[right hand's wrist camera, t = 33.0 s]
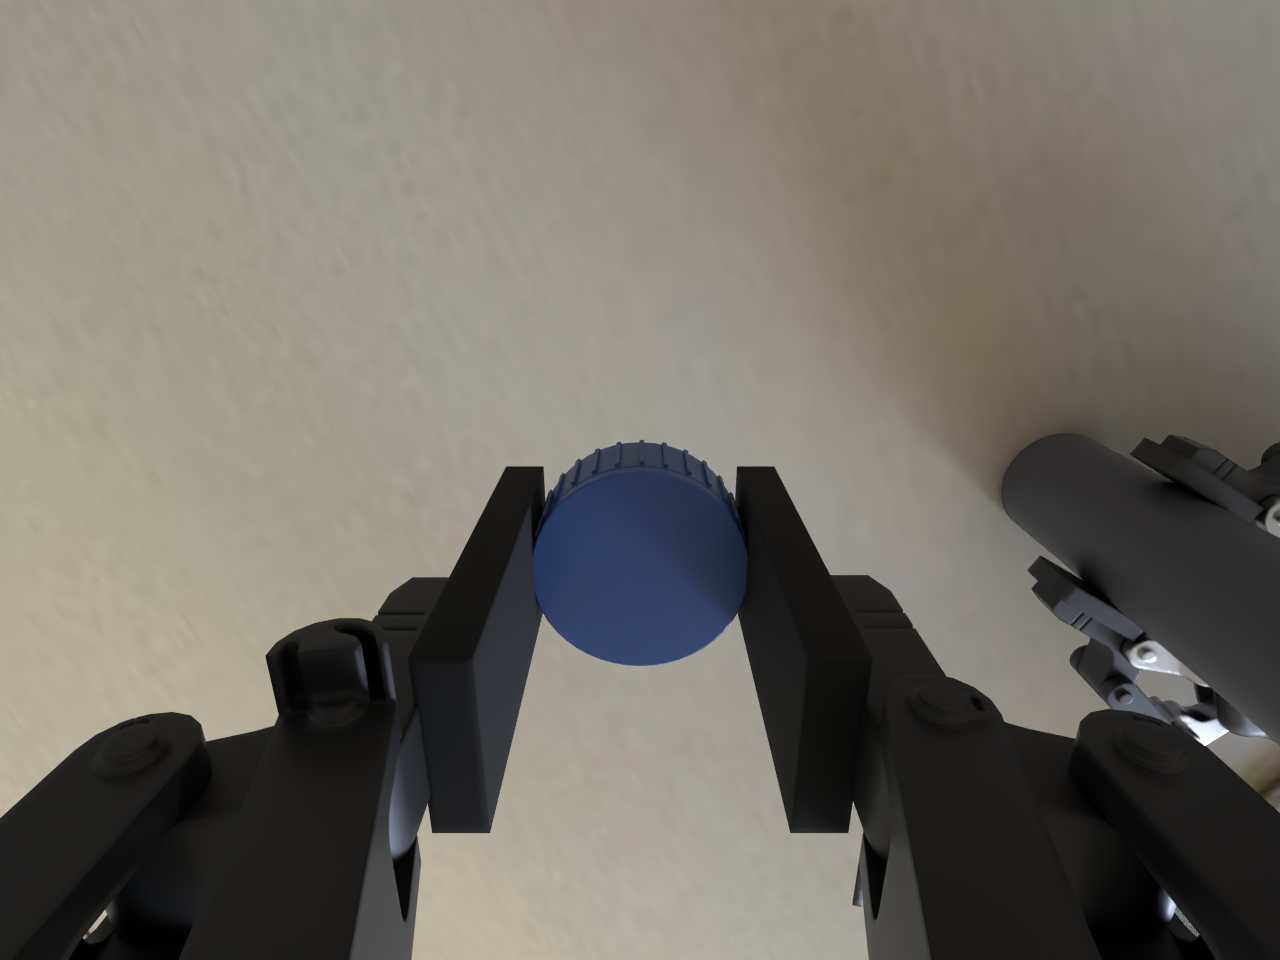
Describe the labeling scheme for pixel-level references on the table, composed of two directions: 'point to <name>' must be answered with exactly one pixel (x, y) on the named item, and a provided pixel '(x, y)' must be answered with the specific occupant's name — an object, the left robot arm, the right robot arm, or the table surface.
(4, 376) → the table surface
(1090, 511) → the bottle
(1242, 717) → the left robot arm
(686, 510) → the cap
